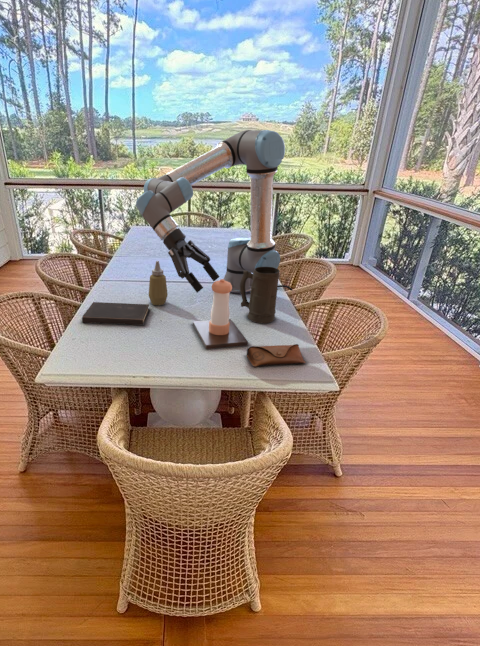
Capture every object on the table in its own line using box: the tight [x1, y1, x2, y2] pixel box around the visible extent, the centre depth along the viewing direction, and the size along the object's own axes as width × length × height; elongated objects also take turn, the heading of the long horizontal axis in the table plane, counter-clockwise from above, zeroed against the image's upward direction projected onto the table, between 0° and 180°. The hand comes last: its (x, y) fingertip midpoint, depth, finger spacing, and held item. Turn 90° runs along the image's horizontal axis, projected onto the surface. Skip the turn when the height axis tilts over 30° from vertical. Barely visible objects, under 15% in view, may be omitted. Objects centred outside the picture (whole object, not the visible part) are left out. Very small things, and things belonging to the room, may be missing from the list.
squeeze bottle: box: [148, 260, 168, 306], centre depth 163 cm, size 8×8×18 cm
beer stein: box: [240, 267, 281, 324], centre depth 153 cm, size 15×11×20 cm
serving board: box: [192, 318, 249, 350], centre depth 143 cm, size 15×20×2 cm
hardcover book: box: [81, 301, 150, 326], centre depth 155 cm, size 16×23×2 cm
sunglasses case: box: [246, 343, 307, 368], centre depth 128 cm, size 18×7×7 cm, turn 100°
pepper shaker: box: [209, 278, 232, 335], centre depth 137 cm, size 7×7×19 cm
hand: (208, 284), depth 136 cm, fingers open, 13 cm apart
